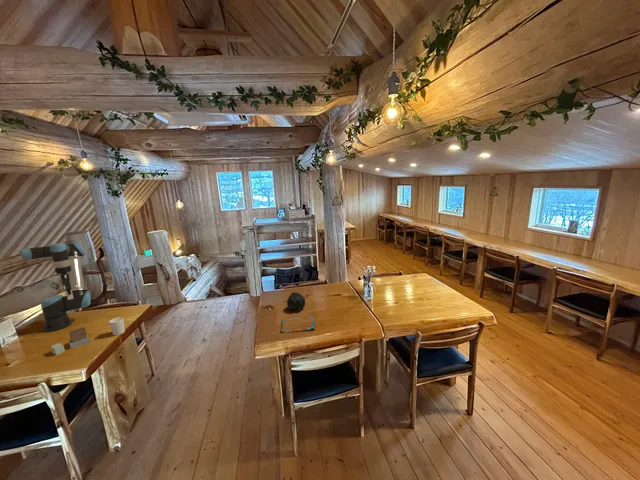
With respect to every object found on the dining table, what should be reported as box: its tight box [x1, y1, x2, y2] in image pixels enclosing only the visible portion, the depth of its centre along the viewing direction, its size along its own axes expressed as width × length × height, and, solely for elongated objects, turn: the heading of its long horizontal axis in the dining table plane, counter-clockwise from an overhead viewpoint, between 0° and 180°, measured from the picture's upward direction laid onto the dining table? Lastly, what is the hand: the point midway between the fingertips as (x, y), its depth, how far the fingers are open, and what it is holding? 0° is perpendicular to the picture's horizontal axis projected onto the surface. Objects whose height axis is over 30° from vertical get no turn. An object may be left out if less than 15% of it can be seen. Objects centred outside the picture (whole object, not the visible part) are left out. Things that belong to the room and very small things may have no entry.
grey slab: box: [68, 334, 90, 350], centre depth 168 cm, size 7×9×4 cm
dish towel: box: [280, 316, 316, 332], centre depth 180 cm, size 17×23×2 cm
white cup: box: [108, 316, 126, 336], centre depth 179 cm, size 8×8×10 cm
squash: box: [286, 292, 306, 311], centre depth 206 cm, size 14×15×15 cm
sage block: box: [50, 342, 66, 356], centre depth 159 cm, size 6×4×4 cm, turn 64°
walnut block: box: [68, 326, 88, 343], centre depth 167 cm, size 6×7×6 cm
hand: (69, 296), depth 173 cm, fingers open, 13 cm apart
